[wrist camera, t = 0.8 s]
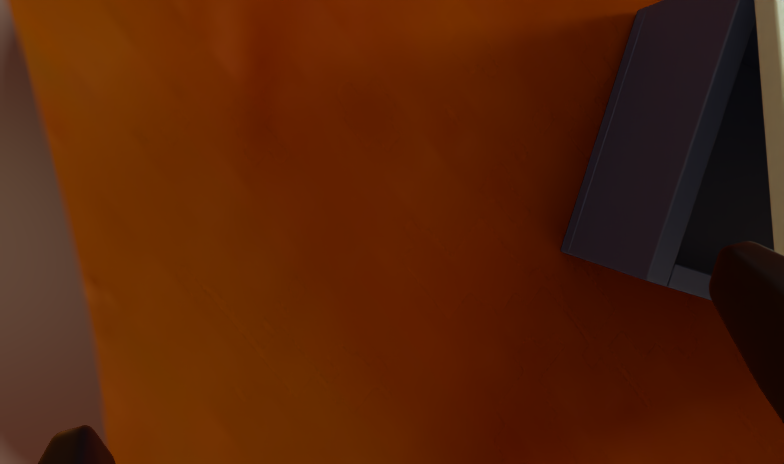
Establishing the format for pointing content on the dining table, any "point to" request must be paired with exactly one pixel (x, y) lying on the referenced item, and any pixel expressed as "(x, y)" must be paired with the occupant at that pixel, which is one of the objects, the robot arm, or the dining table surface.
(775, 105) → the lunchbox lid
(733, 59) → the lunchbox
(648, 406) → the dining table surface
